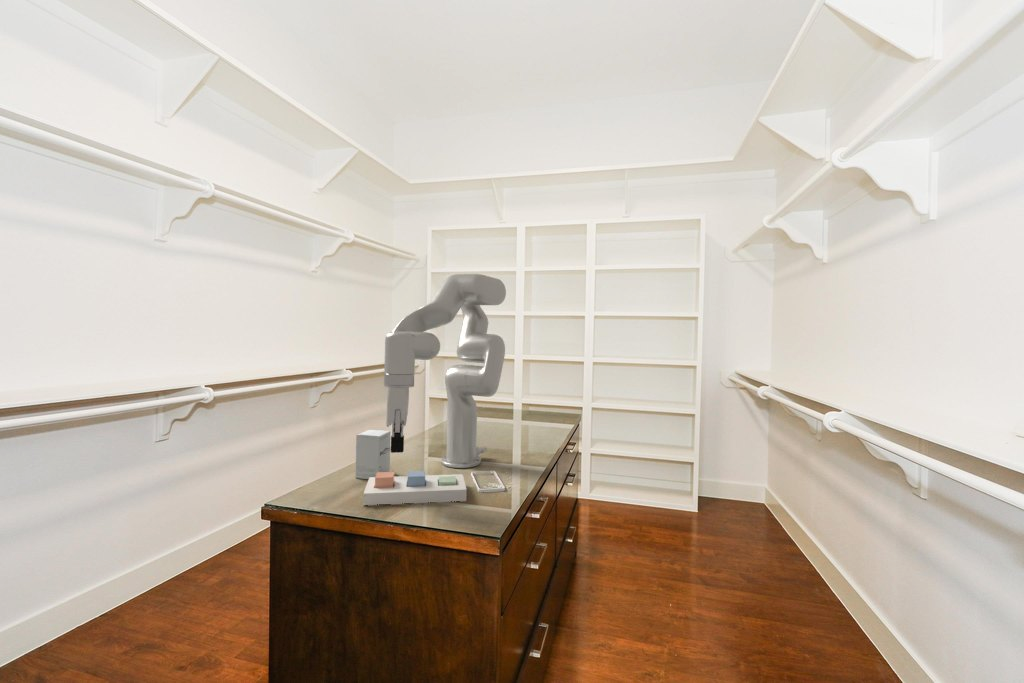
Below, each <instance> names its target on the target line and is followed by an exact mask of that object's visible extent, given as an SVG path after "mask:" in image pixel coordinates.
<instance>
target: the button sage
mask: <svg viewBox="0 0 1024 683" xmlns="http://www.w3.org/2000/svg"><path fill="white" fill-rule="evenodd" d="M445 485H456V477H455V476H446V477H439V486H445Z"/></svg>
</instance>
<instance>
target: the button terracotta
mask: <svg viewBox="0 0 1024 683" xmlns="http://www.w3.org/2000/svg"><path fill="white" fill-rule="evenodd" d="M394 476H395V471H390V472H377V474H376V477H375V488H391V487H394Z"/></svg>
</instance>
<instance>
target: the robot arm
mask: <svg viewBox="0 0 1024 683" xmlns="http://www.w3.org/2000/svg"><path fill="white" fill-rule="evenodd" d="M506 295H507V289H506V285H505V283H504V282H503V281H502V280H501V279H499V278H496V277H491V276H489V275H484V274H479V273H468V274H467V273H464V274H463V273H458V274H457V273H456V274H452V275H449V276H448V277H447V278H445V280H444V281H443V282H442V284H441V286H440V287H438V290H436V293H435V294H434V296H432V298H431V300H430V301H429V302H428V303H426V304H424V305H422V306H420V307H419V308H417V309H416V310H414V311H412V312H411V313H408V314H407V315H405V317H403V318H402V319H401V320H400V321H399V322H398V324H397V325H396V326H395V327H394V329H393V330H392V332H388V333H386V335H385V340H384V370H383V371H384V374H383V387H385V388H387V394H386V396H387V397H386V422H385V423H386V424H385V426H386V427H387V428H389V427H390V426H391V435H390V453H391V454H393V453H404V448H405V444H404V443H405V435H404V427H406V426H407V420H408V415H409V414H408V412H409V402H410V401H409V400H410V388H413V387H415V368H416V367H415V366H416V365H415V364H416V360H417V361H430V360H432V359H434V358H435V357H437V356H438V354H439V353H440V350H441V341H440V340H439V338H438V336H436V335H435V333H434V334H433V333H432V332H427V331H429V330H433V329H437V328H440V327H444V326H445V325H448V324H450V323H451V322H452V321H453V320H454V319H455V317H456V316H457V314H458V313H459V312H460V310H461V314H462V325H461V329H460V334H459V338H458V342H457V347H456V356H457V357H458V359H459V360H460V361H463V362H465V363H475V364H476V363H477V364H483V365H473V364H455V365H452V366H450V367H448V369H447V370H446V372H445V373H444V374H445V375H444V384H445V392H446V398H447V399H446V400H447V417H446V418H447V419H446V420H447V421H446V455H445V456H443V457H441V460H440V461H441V464H442V465H443V466H445V467H449V468H453V469H468V468H474V467H477V466H479V465H480V464H481V462H482V461H481V460H482V458H481V457H480V456H479V455H480V454H484V453H486V452H487V450H488V449H487V447H486V446H481V447H478V446H477V436H478V435H477V434H478V433H477V431H478V427H477V426H478V407H477V403H476V401H475V399H474V396H475V397H482V398H483V397H486V398H487V397H488V398H489V397H493V396H494V395H495V394H496V393H497V392H498V389H499V386H500V382H501V381H500V380H501V377H502V371H503V367H504V361H505V357H506V344H505V341H504V339H503V337H501V336H500V335H498V334H494V333H488V327H489V319H488V316H487V314H486V312H484V309H482V307H481V306H499V305H501V304H502V303H504V301H505V300H506Z"/></svg>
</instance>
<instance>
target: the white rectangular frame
mask: <svg viewBox="0 0 1024 683" xmlns="http://www.w3.org/2000/svg"><path fill="white" fill-rule="evenodd" d="M479 473H480V474H481V473H483V474H484V473H490V475H494V476H495V478H496V479H498V480H497V482H498V483H499V484H501V485H500V486H501V487H495V488H494V487H493V488H480V487H479V485H478V483H477V480H476V478H475V475H476V474H479ZM473 474H475V475H473ZM470 476H472V477H471V479H472V478H473V479H472V481H473V484H474V483H475V484H474V486H475V487H476V488H477V489H476V490H477V493H479V492H480V493H479V494H481V493H483V492H484V493H498V492H500V493H501V492H505V491H506V486H505V484H504V483H503V482H502V480H501V479H500V477H499V476H498V473H497V472H496V471H495V470H487V471H485V470H483V471H471V473H470Z"/></svg>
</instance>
